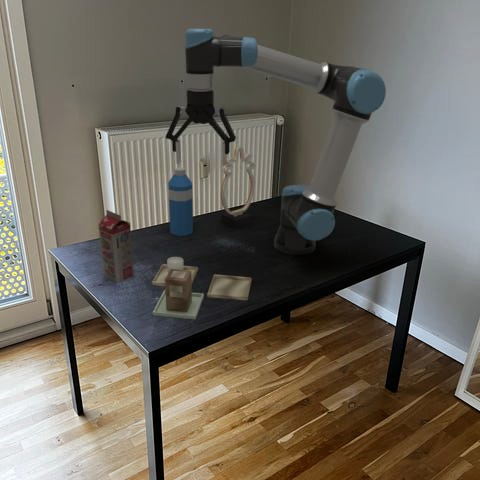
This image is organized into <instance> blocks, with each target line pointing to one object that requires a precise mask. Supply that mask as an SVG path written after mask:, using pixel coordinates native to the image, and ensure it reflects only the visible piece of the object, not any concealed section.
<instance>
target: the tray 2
mask: <svg viewBox="0 0 480 480" xmlns="http://www.w3.org/2000/svg"><path fill="white" fill-rule="evenodd" d="M204 297H205V293H203V292H202V293H201V292H192V302H191V304H190V307H189V309H188V312H179V311H168V310H166V291H165V289H164V290H163V291H162V294H161V295H160V297H159V299H158V301H157V303H156V305H155V307H154V308H153V311H152V316H155V317H156V316H157V317H165V318H166V317H167V318H177V319H185V320H186V319H187V320H196V319H197V316H198V313H199V311H200V308H201V305H202V303H203V300H204Z"/></svg>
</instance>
